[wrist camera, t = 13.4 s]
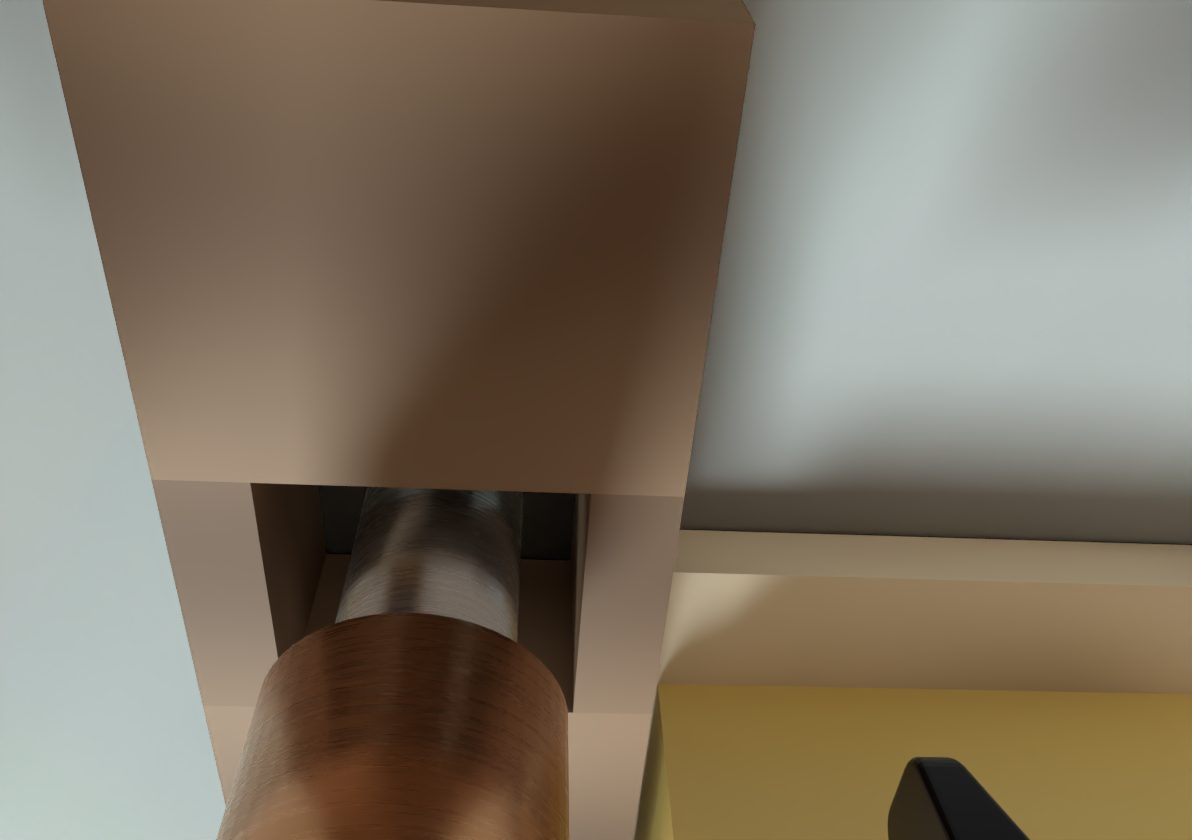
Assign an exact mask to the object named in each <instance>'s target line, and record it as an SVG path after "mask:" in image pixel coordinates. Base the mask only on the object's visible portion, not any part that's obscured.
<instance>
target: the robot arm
mask: <svg viewBox="0 0 1192 840" xmlns="http://www.w3.org/2000/svg"><path fill="white" fill-rule="evenodd" d="M887 826H888V839H889V840H1030V839H1029V838H1028V837H1027V836H1026V834H1025V833H1024V832H1023V831H1022V830H1021V829H1020V828H1019V827H1018V826H1017V824H1016V823H1015V822H1014V821H1013V820H1012V819H1011V818H1010V817H1009V815H1008V814H1007V813H1006V812H1005V811H1004V810H1003V809H1002V808H1001V806H1000V805H999V804H998V803H997V802H996V801H995V800H994V799H993V797H992V796H991V795H990V794H989V793H988V792H987V791H986V790H985V789H984V787H983V786H982V785H981V784H980V783H979V782H978V781H977V780H976V778H975V777H974V776H973V775H972V774H971V773H970V772H969V771H968V769H967V768H966V767H965V766H964V765H963V764H961V763H960V762H959V761H957V760H955V759H953V758H949V757H914V758H912V759H911V760H910V761H909V762H908V763H907V765H906V767H905V769H904V772H903V774H902V777H901V780H900V782H899V785H898V788H897V790H896V793H895V796H894V798H893V801H892V803H891V806H890V809H889V813H888V825H887Z"/></svg>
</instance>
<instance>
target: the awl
mask: <svg viewBox="0 0 1192 840" xmlns="http://www.w3.org/2000/svg"><path fill="white" fill-rule="evenodd" d="M522 514H523V492H520V491H489V490H458V489H427V488H396V487H367V490H366V494H365V498H364V503H363V507H362V511H361V515H360V520H359V524H358V528H357V532H356V537H355V541H354V545H353V549H352V554H351V558H350V562H349V566H348V571H347V575H346V579H345V583H344V588H343V592H342V596H341V600H340V605H339V609H338V613H337V617H336V622H335V624H332V625H329V626H326V627H324V628H322V629H320V630H318V631H315V632H313V633H311V634H309V635H307V636H306V637H304V638H303V639H301V640H300V641H298V642H296V643H295V644H293V645H292V646H291V647H290V648H289V649H288V650H286V651H285V652H284V653H283V654H282V655H281V656H280V657H279V658H278V659H277V661H276V662H275V663H274V664H273V665H272V667H271V668H270V670H269V672H268V673H267V675H266V677H265V679H264V681H263V684H262V687H261V690H260V693H259V697H258V700H257V704H256V707H255V710H254V714H253V717H252V721H251V724H250V727H249V731H248V734H247V738H246V741H245V744H244V748H243V751H242V755H241V758H240V761H239V765H238V768H237V772H236V775H235V778H234V782H233V785H232V789H231V792H230V795H229V799H228V802H227V806H226V809H225V813H224V816H223V819H222V823H221V826H220V830H219V833H218V836H217V840H569V755H568V709H567V705H566V700H565V697H564V695H563V692H562V690H561V688H560V685H559V684H558V682H557V681H556V679H555V678H554V676H553V675H552V673H551V672H550V671H549V669H548V668H547V667H546V666H545V665H544V664H543V663H542V662H541V661H540V660H539V659H538V658H537V657H536V656H534V655H533V654H532V653H531V652H530V651H528V650H527V649H526V648H524V647H523V646H521V645H520V644H518V643H517V635H518V611H519V587H520V563H521V538H522Z"/></svg>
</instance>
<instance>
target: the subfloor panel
mask: <svg viewBox="0 0 1192 840" xmlns="http://www.w3.org/2000/svg"><path fill="white" fill-rule="evenodd" d="M658 684H706V685H755V686H805V687H855V688H904V689H954V690H1003V691H1053V692H1103V693H1152V694H1192V545H1168V544H1135V543H1101V542H1068V541H1035V540H1002V539H969V538H936V537H903V536H870V535H837V534H804V533H770V532H737V531H704V530H679V537H678V544H677V551H676V557H675V564H674V571H673V577H672V584H671V591H670V597H669V604H668V611H667V617H666V624H665V631H664V637H663V644H662V651H661V658H660V664H659V671H658V678H657V684H656V691H655V698H654V704H653V711H652V718H651V724H650V731H649V738H648V744H647V751H646V758H645V765H644V771H643V778H642V785H641V791H640V798H639V805H638V811H637V818H636V825H635V831H634V838H633V840H635V833H636V827H637V820H638V813H639V807H640V800H641V793H642V786H643V780H644V773H645V766H646V760H647V753H648V746H649V740H650V733H651V726H652V719H653V713H654V706H655V699H656V693H657V686H658Z"/></svg>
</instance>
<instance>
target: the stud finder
mask: <svg viewBox="0 0 1192 840" xmlns="http://www.w3.org/2000/svg"><path fill="white" fill-rule="evenodd" d="M914 757H949V758H953V759H955V760H957V761H959V762H960V763H961V764H963V765H964V766H965V767H966V768H967V769H968V771H969V772H970V773H971V774H972V775H973V776H974V777H975V778H976V780H977V781H978V782H979V783H980V784H981V785H982V786H983V787H984V789H985V790H986V791H987V792H988V793H989V794H990V795H991V796H992V797H993V799H994V800H995V801H996V802H997V803H998V804H999V805H1000V806H1001V808H1002V809H1003V810H1004V811H1005V812H1006V813H1007V814H1008V815H1009V817H1010V818H1011V819H1012V820H1013V821H1014V822H1015V823H1016V824H1017V826H1018V827H1019V828H1020V829H1021V830H1022V831H1023V832H1024V833H1025V834H1026V836H1027V837H1028V838H1029V839H1030V840H1192V694H1152V693H1103V692H1053V691H1003V690H954V689H904V688H855V687H805V686H755V685H706V684H658V686H657V693H656V699H655V706H654V713H653V719H652V726H651V733H650V740H649V746H648V753H647V760H646V766H645V773H644V780H643V786H642V793H641V800H640V807H639V813H638V820H637V827H636V833H635V840H889V839H888V826H887V825H888V813H889V809H890V806H891V803H892V801H893V798H894V796H895V793H896V790H897V788H898V785H899V782H900V780H901V777H902V774H903V772H904V769H905V767H906V765H907V763H908V762H909V761H910V760H911V759H912V758H914Z"/></svg>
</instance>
